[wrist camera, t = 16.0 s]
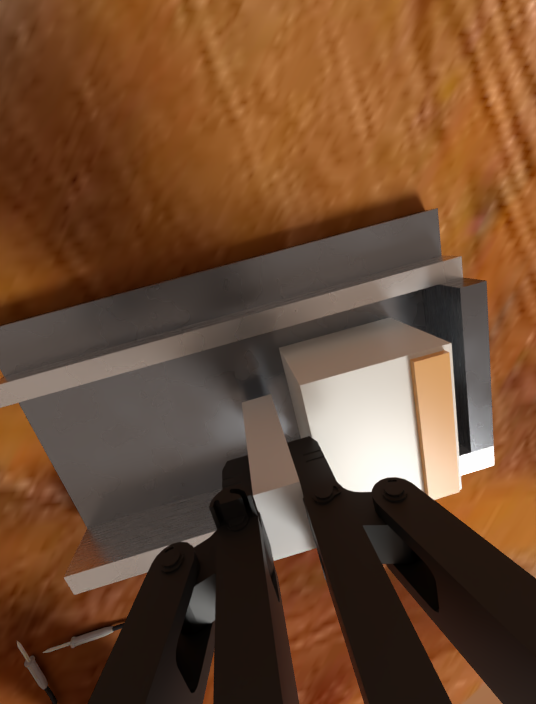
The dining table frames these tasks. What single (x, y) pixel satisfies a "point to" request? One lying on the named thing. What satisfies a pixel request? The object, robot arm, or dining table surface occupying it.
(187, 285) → the rail base
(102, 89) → the dining table surface
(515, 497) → the dining table surface
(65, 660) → the dining table surface
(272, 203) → the dining table surface
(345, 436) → the block
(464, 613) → the robot arm
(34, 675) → the multimeter
